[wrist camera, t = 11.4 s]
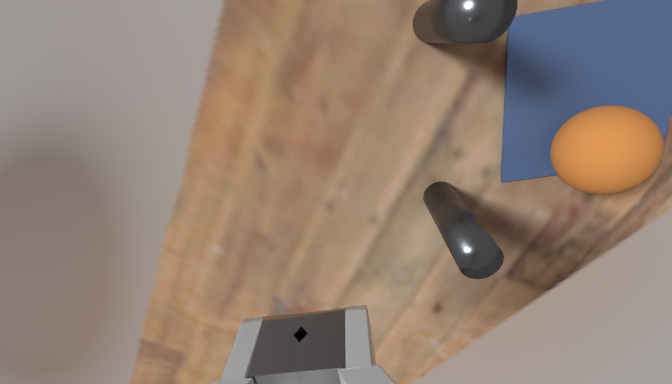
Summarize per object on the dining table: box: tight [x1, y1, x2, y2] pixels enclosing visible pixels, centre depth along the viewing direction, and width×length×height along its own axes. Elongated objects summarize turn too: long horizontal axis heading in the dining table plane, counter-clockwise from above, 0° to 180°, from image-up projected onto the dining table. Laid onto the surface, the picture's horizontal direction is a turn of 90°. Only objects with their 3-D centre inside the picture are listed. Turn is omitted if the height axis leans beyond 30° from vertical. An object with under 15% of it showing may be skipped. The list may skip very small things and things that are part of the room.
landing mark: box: [501, 0, 672, 182], centre depth 24 cm, size 12×12×1 cm
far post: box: [423, 182, 504, 279], centre depth 23 cm, size 3×3×9 cm
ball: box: [550, 105, 664, 194], centre depth 23 cm, size 6×6×6 cm
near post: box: [413, 0, 517, 43], centre depth 18 cm, size 3×3×9 cm
